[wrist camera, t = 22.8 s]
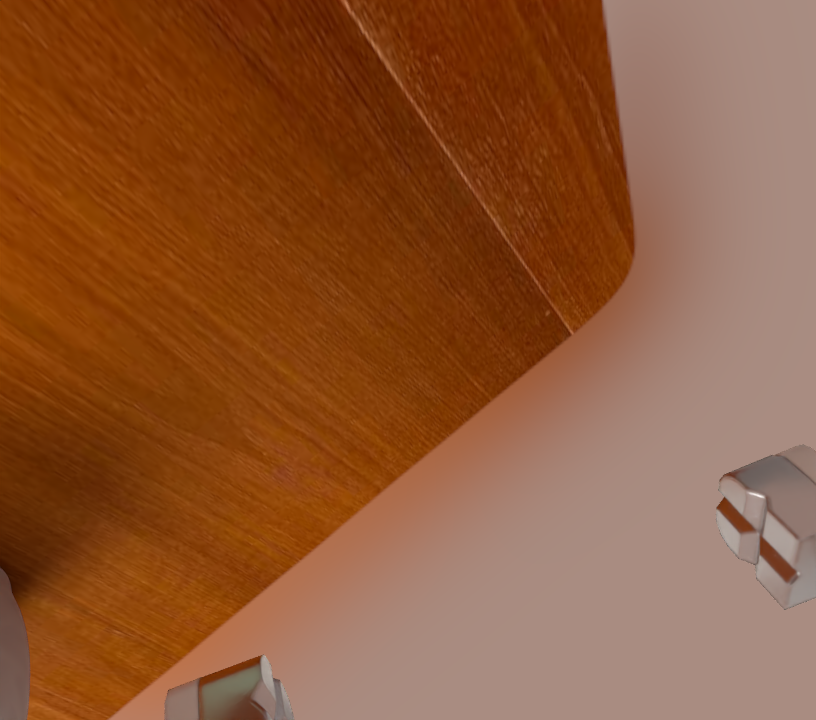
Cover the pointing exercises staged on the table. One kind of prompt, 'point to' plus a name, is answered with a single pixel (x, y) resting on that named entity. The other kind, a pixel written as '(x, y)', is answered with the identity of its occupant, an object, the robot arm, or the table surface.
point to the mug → (13, 656)
